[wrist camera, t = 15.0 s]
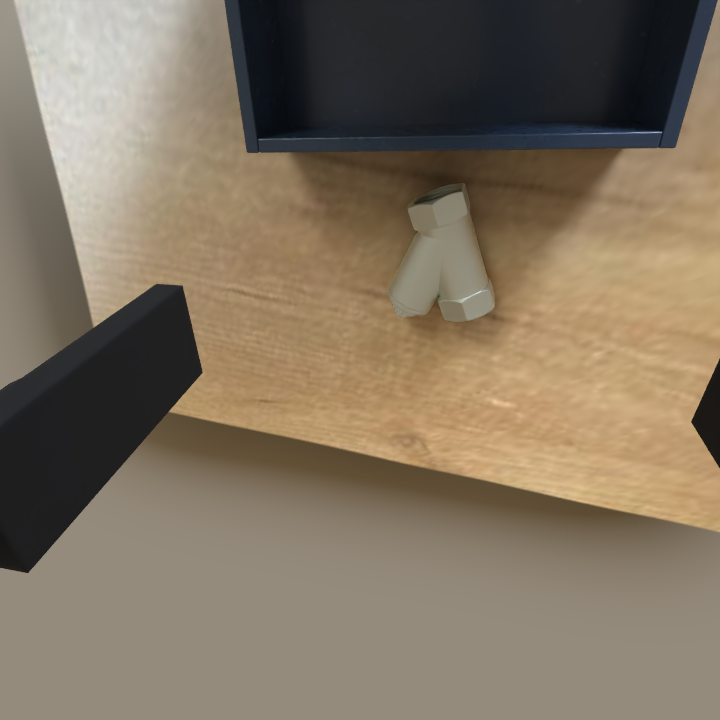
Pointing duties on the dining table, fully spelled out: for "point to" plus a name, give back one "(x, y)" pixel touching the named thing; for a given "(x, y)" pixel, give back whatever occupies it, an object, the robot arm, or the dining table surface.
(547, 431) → the dining table surface
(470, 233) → the pipe fitting
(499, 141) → the toolbox
